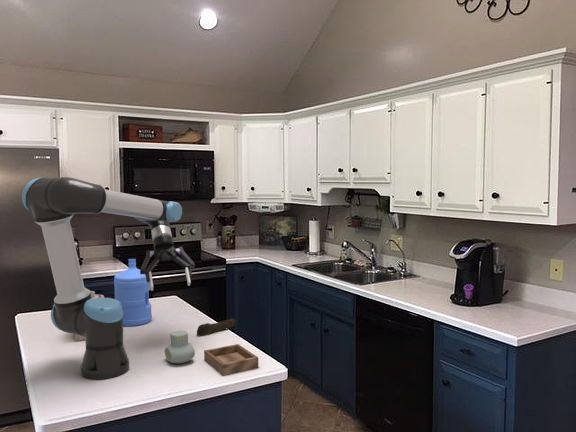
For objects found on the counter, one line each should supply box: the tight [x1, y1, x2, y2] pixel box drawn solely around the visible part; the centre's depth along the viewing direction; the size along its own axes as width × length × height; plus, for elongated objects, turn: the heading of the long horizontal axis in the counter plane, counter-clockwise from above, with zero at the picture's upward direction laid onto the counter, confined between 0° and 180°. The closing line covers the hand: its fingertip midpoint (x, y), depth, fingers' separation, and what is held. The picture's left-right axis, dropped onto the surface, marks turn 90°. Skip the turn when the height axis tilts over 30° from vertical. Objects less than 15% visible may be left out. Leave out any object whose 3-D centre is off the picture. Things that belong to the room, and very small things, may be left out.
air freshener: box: [164, 329, 196, 364], centre depth 173 cm, size 11×8×10 cm
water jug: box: [113, 258, 153, 327], centre depth 220 cm, size 16×16×28 cm
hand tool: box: [196, 317, 237, 337], centre depth 206 cm, size 19×4×5 cm, turn 133°
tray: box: [203, 343, 259, 377], centre depth 170 cm, size 13×16×4 cm
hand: (171, 286), depth 184 cm, fingers open, 13 cm apart
